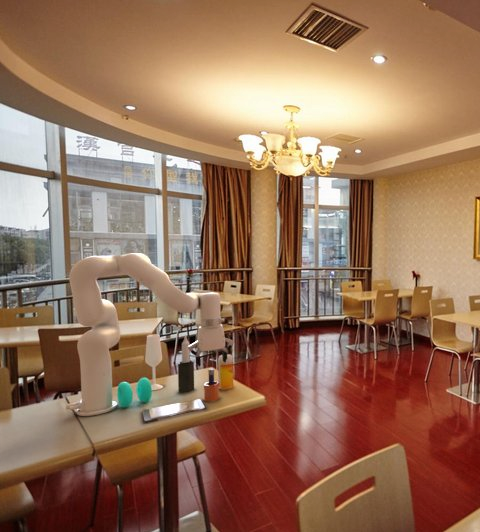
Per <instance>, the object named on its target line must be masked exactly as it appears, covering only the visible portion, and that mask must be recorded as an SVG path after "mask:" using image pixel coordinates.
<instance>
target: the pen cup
mask: <svg viewBox="0 0 480 532" xmlns="http://www.w3.org/2000/svg"><path fill="white" fill-rule="evenodd" d="M219 398H220V389H219V382H218V380H217V381H216V380H214V385H209V381H207V382H205V383H204V384H203V400H204V402H214V401H217V400H219Z"/></svg>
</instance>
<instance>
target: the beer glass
mask: <svg viewBox="0 0 480 532" xmlns="http://www.w3.org/2000/svg"><path fill="white" fill-rule="evenodd" d="M217 368H218V369H217V371H218V373H217V374H218V377H217V378H218V380H217V382H219V390H222V391H225V390H226V391H227V390H230V389H232V388H233V387H234V357H233V355H232V354H231V353H230V354H229V353H227V359H226V362H224V361H223V357H222V354H221V355H219V356H218V359H217Z"/></svg>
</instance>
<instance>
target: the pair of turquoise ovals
mask: <svg viewBox="0 0 480 532" xmlns="http://www.w3.org/2000/svg"><path fill="white" fill-rule="evenodd" d="M151 385H152V384H151V381H150V379H149V378H148V377H141V378H140V379H139V380H138V381H137V384H136V395H137V398H138V400H139V402H142V403H148V402H149V401H150V400H151V399H152V397H153V395H152V394H153V390H152V387H151ZM116 389H117V390H116V394H117V395H116V396H117V401H118V402H117V403H118V404H119V406H120V407H121V408H125V409H126V408H128V407H129V406H130V405H132V402H133V396H134V395H133V394H134V393H133V388H132V386H131V384H130V383H129V382H127V381H122V382H120V383H119V384H118V386H117V388H116Z"/></svg>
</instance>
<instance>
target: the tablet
mask: <svg viewBox="0 0 480 532" xmlns="http://www.w3.org/2000/svg"><path fill="white" fill-rule="evenodd" d="M203 410H206V406H205V405H204V403H203V401H202V399H201V398H196V399H193V400H192V399H191V400H187V401H183V402H177V403H172V404H167V405H163V406H156V407H151V408H147V409H142V416H143V417H142V418H143V421H144V424H147V423H153V422H157V421H158V420H160V419H166V418H171V417H175V416H179V415H184V414H188V413H195V412H199V411H203Z"/></svg>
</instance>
